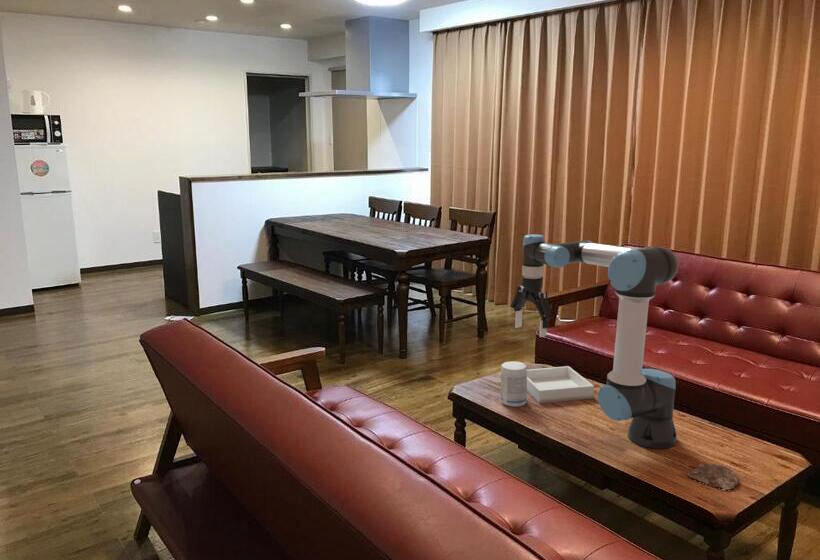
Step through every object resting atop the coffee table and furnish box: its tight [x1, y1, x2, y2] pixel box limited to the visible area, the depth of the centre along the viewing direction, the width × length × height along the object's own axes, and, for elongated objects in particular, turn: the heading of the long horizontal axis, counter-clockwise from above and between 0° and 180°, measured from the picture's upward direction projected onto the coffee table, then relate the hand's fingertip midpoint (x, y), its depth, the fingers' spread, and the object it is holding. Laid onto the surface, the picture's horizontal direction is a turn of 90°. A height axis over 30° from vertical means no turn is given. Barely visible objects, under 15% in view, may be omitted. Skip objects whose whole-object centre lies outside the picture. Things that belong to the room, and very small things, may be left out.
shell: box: [687, 462, 739, 491], centre depth 191 cm, size 12×13×4 cm
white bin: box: [527, 365, 595, 404], centre depth 257 cm, size 22×22×5 cm
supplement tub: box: [500, 360, 528, 408], centre depth 244 cm, size 10×10×15 cm
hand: (530, 331), depth 246 cm, fingers open, 13 cm apart
